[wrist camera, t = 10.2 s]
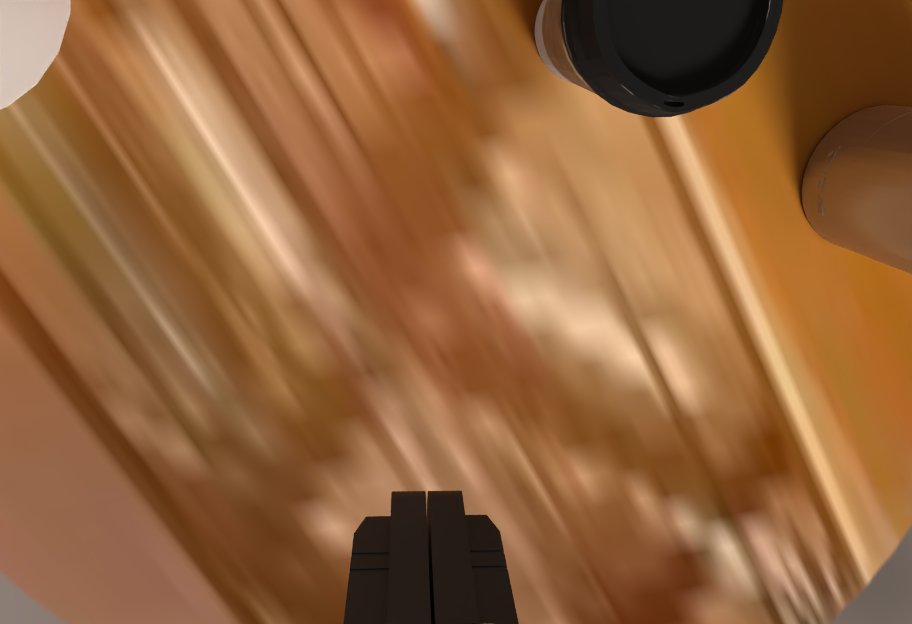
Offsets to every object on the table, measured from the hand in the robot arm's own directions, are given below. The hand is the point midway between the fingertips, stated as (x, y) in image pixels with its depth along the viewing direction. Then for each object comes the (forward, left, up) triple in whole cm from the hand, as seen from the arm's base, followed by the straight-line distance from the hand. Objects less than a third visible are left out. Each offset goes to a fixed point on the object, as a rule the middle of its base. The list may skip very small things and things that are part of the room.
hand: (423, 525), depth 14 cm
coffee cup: (-10, -12, -29) cm, 33 cm away
